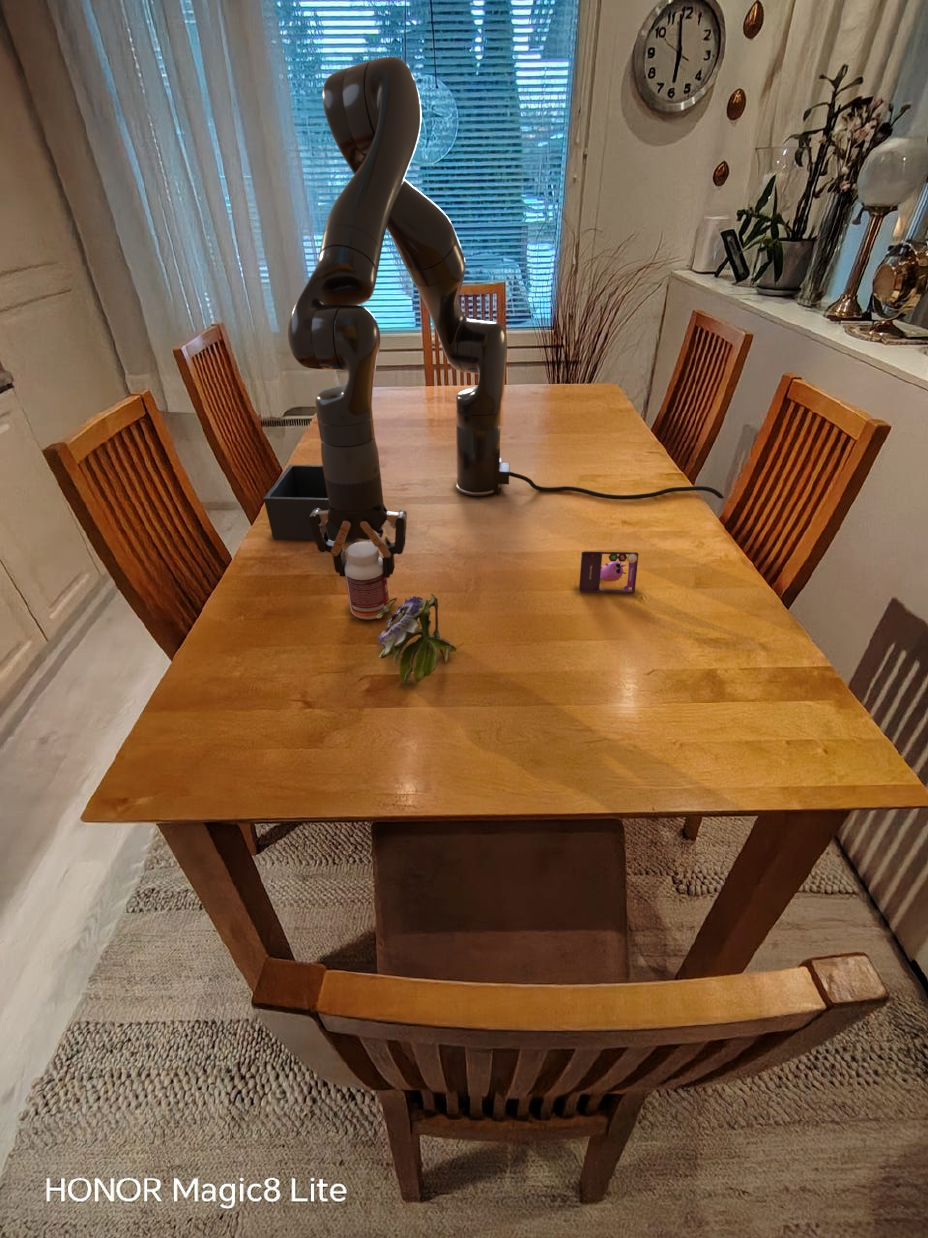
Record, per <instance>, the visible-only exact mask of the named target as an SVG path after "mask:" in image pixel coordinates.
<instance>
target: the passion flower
mask: <svg viewBox="0 0 928 1238" xmlns="http://www.w3.org/2000/svg"><path fill="white" fill-rule="evenodd" d="M430 595H431V596H430V599H429V600H428V599H426V598H424V597H421V596H416V595H415V596H409V599H407V598H405V600H404V603H401V604H400V606H398V607H397V609H396V611H395V612H392V611H391V608H392V606H393V605H394V604H395V603H396V601H398V597H397V596H395V597H393V598H392V599H389V602H388V603H387V604H386V605H384V606H382V609H381V610H380V611H379V612H378V613H377V616H376V619H377V620H379V619H383V618H384V616H386V615H387V614H388V615H390V616H391V617H390V618H389V619H388V620H386V622H385V623H386V628H385V629H384V630H383V631H382V632H381V634H380V635H379V636H378V637H377V640H378V641H379V643H378V644H377V645H376V647H380V646H382V647H384V649H382V651H381V653H380V654H379V659H385V658H387V657H388V656H390V655H392V657H393V658H392V662H393V665H395V666H396V665H397V663H398V659H399V657H400V656H401V658H400V662H399V676H400V677H399V678H400V680H401V681H402V682H404V683H405V684H406V685H407V686H408V685H409V679H410V676H411V674H412V672H413V682H414V684H418V683H420V682H421V681H423V680H424V678H425V677H429V676H430V675H431V674H433V672H434V671H435V670H436V668H437V666H438V665H439V664H438V663H439V660H440V654H441V655H442V658H443V659H444V662H445V663H448V662H449V657H450V653H451V652H456V651H457V647H456V646H455V645H454V644H452V643H451V642H449V641H448V640H446V639H444V638H441V634H440V632H439V610H438V609H439V601H438V600H439V599H438V598H437V597H436V596H435V595H434V593H431V594H430ZM431 607H434V610H435V611H434V612H435V613H434V615H435V616H434V617H435V618H434V619H435V620H434V621H435V622H434V623H435V624H434V625H435V628H434V631H433V633H432V634H430V627H431V624H432V621H431V620H430V617H431V616H430V615H431V610H430V609H431ZM376 619H375V620H376ZM418 619H419V621H418ZM420 627H421V628H420ZM416 636H420V637H418V638H417V639H416V641H413V642H411V643H409V641H410V640H412V638H415V637H416ZM408 643H409V644H408ZM407 644H408V645H407ZM439 651H440V653H439ZM444 653H445V655H444ZM415 656H416V657H415ZM414 660H415V666H414ZM413 666H414V667H413Z"/></svg>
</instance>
